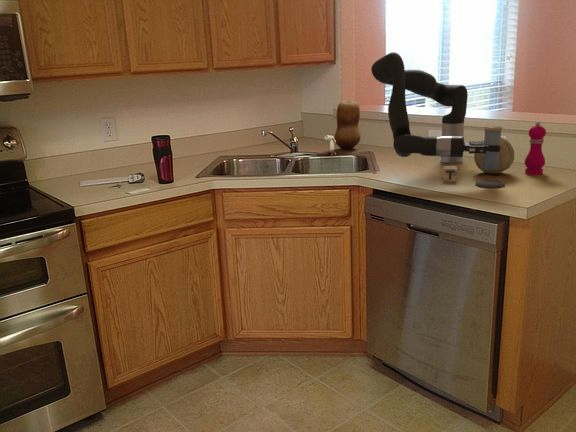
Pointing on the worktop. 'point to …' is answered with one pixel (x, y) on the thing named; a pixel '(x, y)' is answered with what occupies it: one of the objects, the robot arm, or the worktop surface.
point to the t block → (450, 173)
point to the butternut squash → (347, 125)
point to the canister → (491, 138)
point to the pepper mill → (535, 151)
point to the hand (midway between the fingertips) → (499, 147)
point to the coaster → (490, 184)
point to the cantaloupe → (504, 158)
